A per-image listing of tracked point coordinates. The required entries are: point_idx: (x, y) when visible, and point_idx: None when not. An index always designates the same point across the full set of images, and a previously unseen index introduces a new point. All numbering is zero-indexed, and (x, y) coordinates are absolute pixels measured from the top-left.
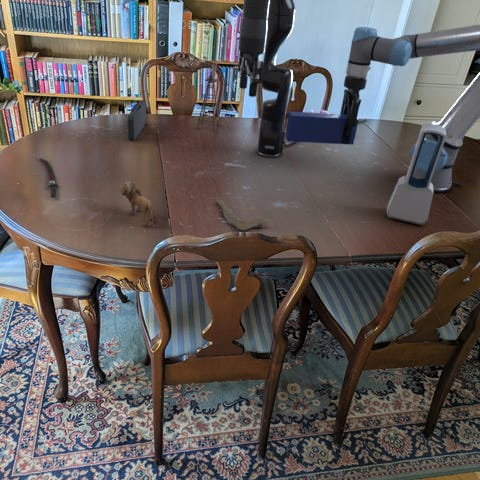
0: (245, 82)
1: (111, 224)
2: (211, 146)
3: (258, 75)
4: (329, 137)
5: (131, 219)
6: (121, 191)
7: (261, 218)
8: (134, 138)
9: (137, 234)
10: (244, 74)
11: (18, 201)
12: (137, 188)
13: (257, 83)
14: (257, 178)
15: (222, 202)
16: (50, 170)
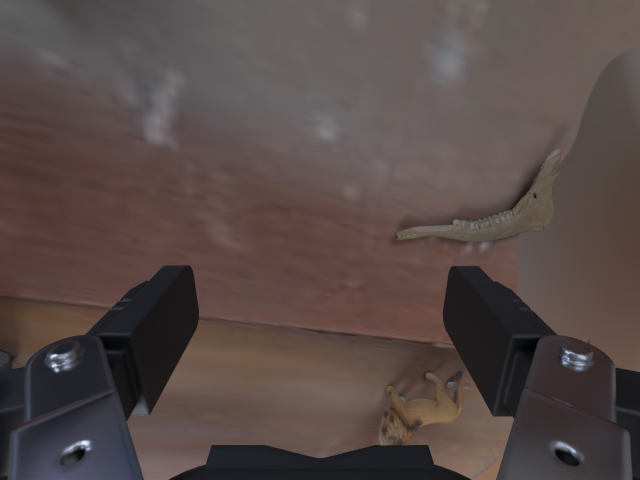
0: (168, 309)
1: (425, 428)
2: (4, 145)
3: (579, 411)
4: None
5: None
6: None
7: (544, 167)
8: (8, 358)
9: (471, 398)
10: (119, 394)
11: None
12: (406, 434)
13: (619, 377)
14: (267, 64)
15: (415, 230)
16: None
